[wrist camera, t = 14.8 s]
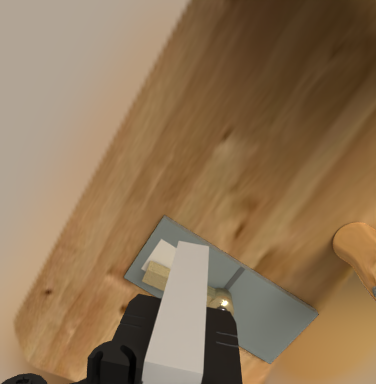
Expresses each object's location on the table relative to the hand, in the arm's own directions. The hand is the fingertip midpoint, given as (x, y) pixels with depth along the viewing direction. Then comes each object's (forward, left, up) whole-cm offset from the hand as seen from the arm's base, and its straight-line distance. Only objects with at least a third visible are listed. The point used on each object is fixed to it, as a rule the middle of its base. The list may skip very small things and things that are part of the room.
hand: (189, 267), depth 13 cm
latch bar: (+15, +8, -23) cm, 29 cm away
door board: (+14, +13, -25) cm, 32 cm away
